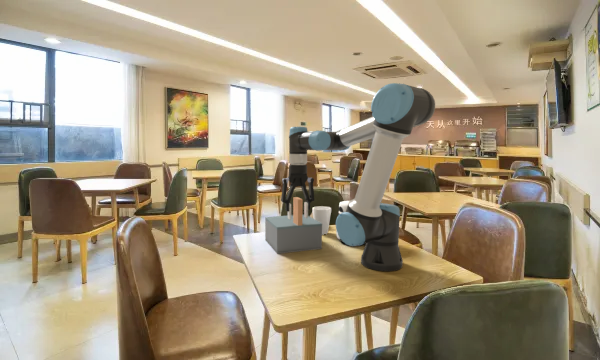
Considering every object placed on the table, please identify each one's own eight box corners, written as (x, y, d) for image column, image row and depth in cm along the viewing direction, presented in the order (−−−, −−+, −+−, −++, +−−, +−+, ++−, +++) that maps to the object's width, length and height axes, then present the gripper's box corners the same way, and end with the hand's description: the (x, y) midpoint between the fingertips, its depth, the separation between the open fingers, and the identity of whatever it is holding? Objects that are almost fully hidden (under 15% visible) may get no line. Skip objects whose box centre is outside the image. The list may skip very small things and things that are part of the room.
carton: (321, 248, 139) (322, 226, 138) (277, 253, 132) (277, 229, 131) (305, 236, 158) (305, 216, 157) (265, 240, 151) (265, 219, 150)
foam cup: (309, 234, 162) (309, 208, 161) (316, 230, 170) (317, 205, 169) (326, 236, 158) (326, 210, 156) (333, 232, 166) (334, 207, 164)
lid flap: (322, 225, 138) (322, 198, 137) (277, 229, 131) (277, 200, 130) (305, 216, 157) (305, 191, 155) (265, 219, 150) (265, 193, 149)
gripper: (316, 163, 142) (315, 214, 144) (272, 164, 135) (273, 217, 137) (323, 164, 135) (322, 218, 137) (277, 165, 128) (277, 221, 130)
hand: (297, 218), depth 137 cm, fingers open, 7 cm apart
